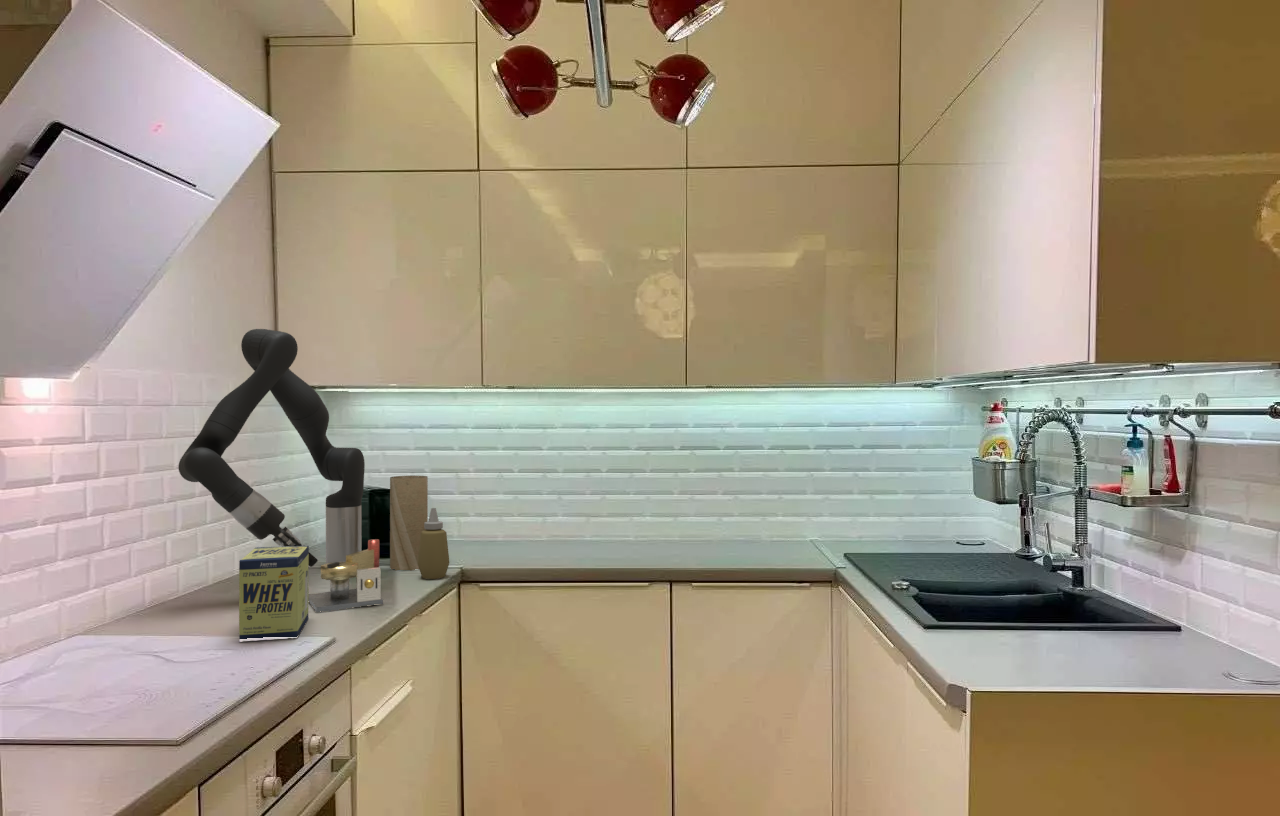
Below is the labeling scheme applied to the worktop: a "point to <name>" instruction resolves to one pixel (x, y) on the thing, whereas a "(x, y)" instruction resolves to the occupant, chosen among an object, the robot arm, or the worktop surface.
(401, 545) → the tube
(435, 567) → the squeeze bottle
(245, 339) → the robot arm
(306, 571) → the protein box
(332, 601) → the stand
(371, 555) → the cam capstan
